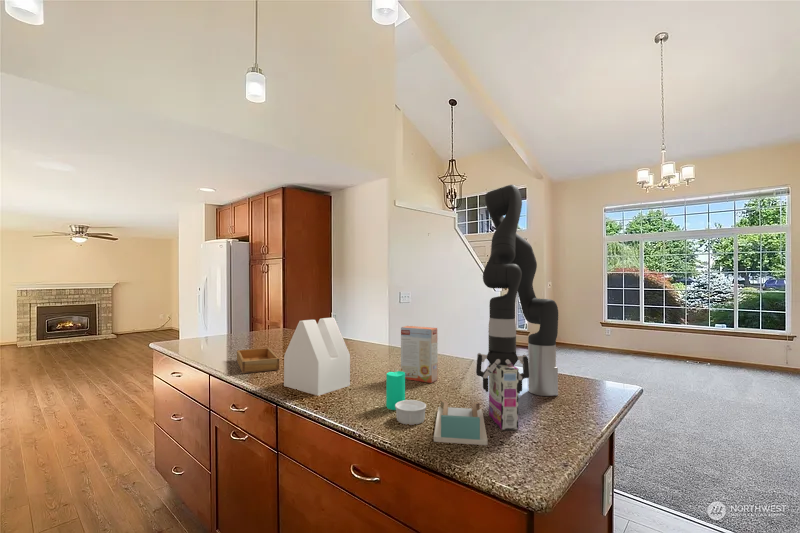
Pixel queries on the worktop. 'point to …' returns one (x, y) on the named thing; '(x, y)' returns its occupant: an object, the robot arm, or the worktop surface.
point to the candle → (395, 388)
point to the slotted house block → (317, 358)
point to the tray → (257, 360)
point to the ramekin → (410, 412)
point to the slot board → (460, 425)
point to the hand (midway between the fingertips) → (502, 391)
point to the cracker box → (419, 353)
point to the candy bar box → (504, 397)
